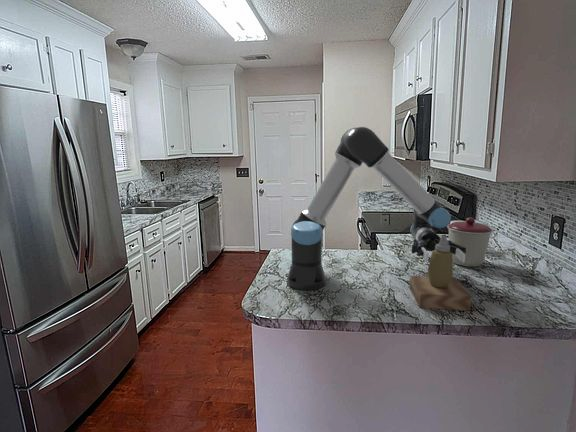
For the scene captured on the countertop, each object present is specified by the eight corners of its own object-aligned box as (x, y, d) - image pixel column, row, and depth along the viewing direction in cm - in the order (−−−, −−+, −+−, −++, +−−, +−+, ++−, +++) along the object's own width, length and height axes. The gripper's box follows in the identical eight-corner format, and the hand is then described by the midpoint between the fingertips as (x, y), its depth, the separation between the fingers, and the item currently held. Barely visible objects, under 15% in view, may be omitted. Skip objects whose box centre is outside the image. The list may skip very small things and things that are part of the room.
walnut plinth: (419, 307, 117) (420, 293, 116) (409, 288, 133) (410, 275, 132) (470, 310, 115) (471, 296, 114) (453, 290, 131) (455, 277, 130)
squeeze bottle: (452, 283, 125) (457, 233, 121) (450, 291, 118) (456, 239, 114) (427, 279, 128) (432, 231, 125) (425, 286, 121) (429, 236, 118)
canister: (497, 265, 156) (502, 218, 152) (474, 273, 147) (479, 224, 142) (458, 254, 171) (463, 211, 167) (435, 261, 162) (439, 216, 157)
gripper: (458, 249, 137) (481, 269, 116) (396, 247, 140) (408, 267, 119) (460, 230, 136) (483, 247, 114) (397, 229, 138) (409, 245, 117)
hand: (445, 257), depth 117 cm, fingers open, 11 cm apart
